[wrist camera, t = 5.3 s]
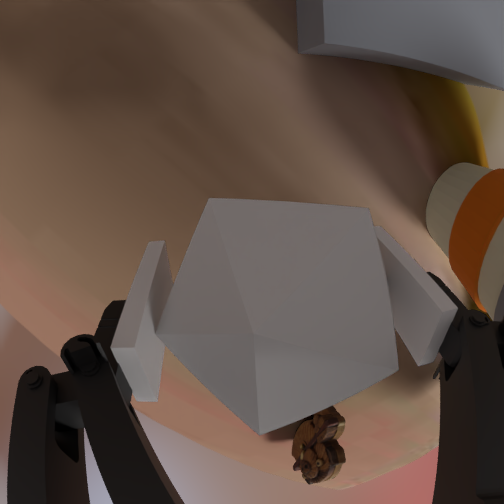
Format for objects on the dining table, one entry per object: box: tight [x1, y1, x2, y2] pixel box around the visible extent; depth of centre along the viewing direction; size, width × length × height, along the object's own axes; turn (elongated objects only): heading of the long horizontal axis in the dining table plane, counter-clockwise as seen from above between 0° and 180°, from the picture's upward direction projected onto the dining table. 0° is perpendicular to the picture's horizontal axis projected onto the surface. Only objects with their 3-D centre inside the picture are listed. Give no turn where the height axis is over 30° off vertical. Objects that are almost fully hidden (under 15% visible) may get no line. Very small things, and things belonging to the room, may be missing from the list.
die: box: [156, 198, 399, 435], centre depth 11 cm, size 8×9×10 cm
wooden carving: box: [292, 405, 346, 484], centre depth 37 cm, size 16×5×10 cm, turn 174°
